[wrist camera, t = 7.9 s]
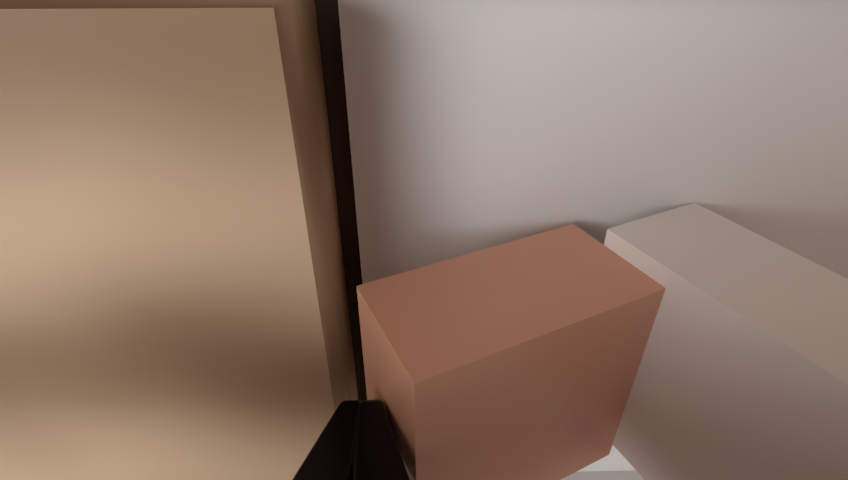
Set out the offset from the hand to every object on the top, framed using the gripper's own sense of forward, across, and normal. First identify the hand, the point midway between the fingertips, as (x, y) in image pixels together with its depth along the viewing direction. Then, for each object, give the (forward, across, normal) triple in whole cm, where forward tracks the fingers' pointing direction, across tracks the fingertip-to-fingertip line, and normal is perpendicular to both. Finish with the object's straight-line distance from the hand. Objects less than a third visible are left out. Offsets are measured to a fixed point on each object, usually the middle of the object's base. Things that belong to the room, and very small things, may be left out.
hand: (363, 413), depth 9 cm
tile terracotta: (+2, -2, 0) cm, 3 cm away
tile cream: (0, -6, 0) cm, 6 cm away
